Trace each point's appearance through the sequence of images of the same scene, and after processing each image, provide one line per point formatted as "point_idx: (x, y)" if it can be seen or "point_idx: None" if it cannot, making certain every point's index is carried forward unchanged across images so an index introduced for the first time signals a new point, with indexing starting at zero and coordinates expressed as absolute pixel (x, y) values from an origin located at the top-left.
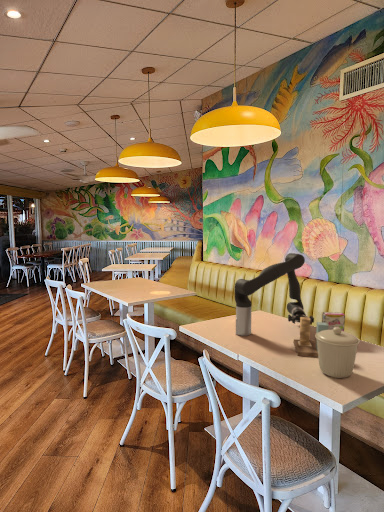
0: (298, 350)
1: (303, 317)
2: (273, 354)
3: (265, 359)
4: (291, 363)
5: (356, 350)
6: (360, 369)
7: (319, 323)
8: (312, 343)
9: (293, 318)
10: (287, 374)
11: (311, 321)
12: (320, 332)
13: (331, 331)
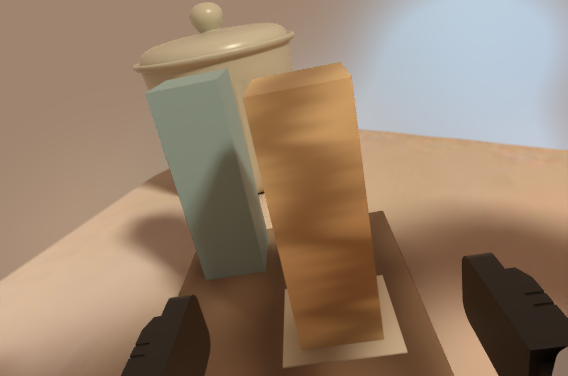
0: (381, 222)
1: (312, 80)
2: (527, 206)
3: (536, 168)
4: (406, 178)
5: None
6: (142, 216)
7: (207, 76)
8: (266, 339)
9: (544, 326)
10: (407, 139)
11: (158, 318)
12: (268, 24)
13: (220, 30)
